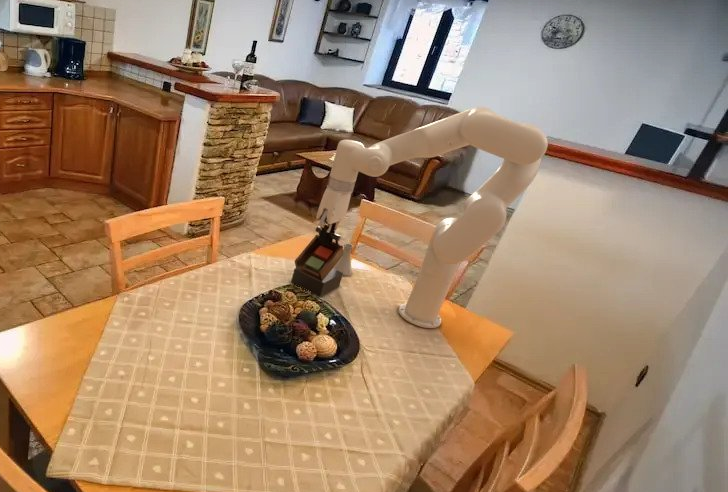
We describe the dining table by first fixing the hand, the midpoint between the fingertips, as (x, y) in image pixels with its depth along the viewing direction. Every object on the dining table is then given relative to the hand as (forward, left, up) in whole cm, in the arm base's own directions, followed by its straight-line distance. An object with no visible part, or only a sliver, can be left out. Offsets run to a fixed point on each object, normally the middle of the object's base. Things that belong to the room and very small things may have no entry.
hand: (324, 242), depth 153 cm
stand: (-1, 0, -15) cm, 15 cm away
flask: (-18, 0, -15) cm, 24 cm away
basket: (0, 0, -7) cm, 7 cm away
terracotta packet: (-1, 0, -5) cm, 5 cm away
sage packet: (+3, 0, -7) cm, 8 cm away
